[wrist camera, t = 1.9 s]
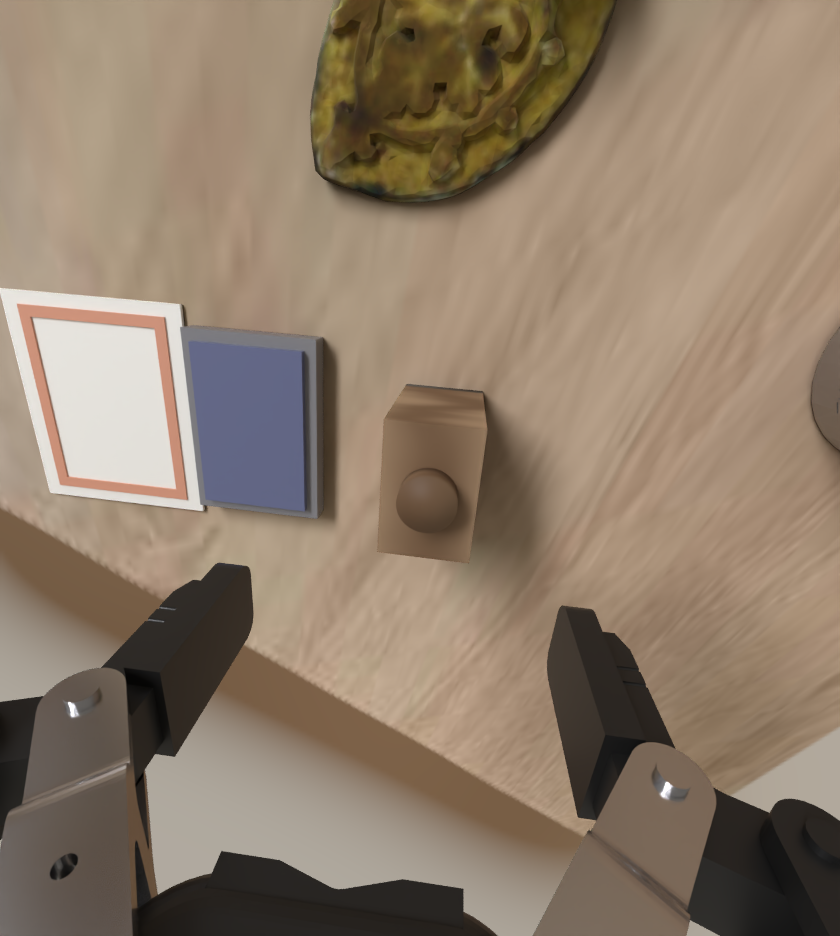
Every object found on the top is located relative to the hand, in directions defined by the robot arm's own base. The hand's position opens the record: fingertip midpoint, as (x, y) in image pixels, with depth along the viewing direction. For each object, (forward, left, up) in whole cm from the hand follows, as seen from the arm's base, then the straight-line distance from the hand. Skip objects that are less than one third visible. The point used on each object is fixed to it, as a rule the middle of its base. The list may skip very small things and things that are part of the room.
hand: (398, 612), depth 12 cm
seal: (+1, -17, -15) cm, 23 cm away
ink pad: (+10, 0, -14) cm, 17 cm away
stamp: (0, 0, -14) cm, 14 cm away
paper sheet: (+19, 0, -14) cm, 24 cm away
